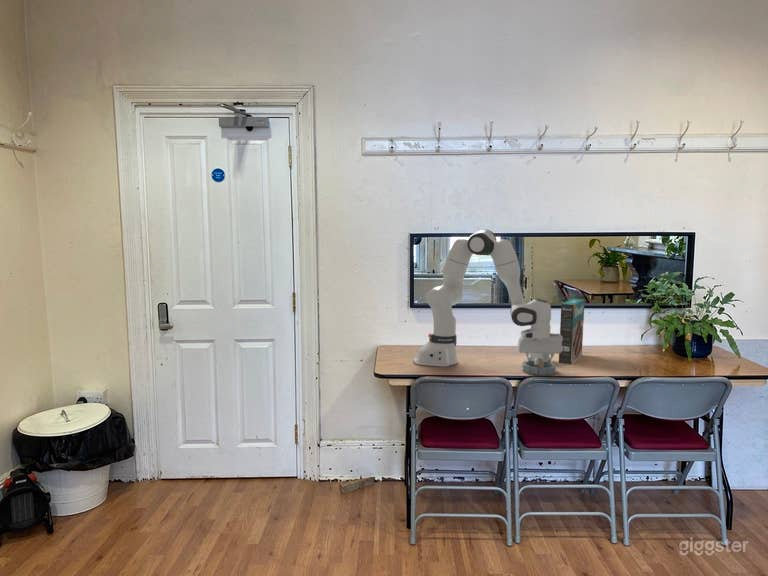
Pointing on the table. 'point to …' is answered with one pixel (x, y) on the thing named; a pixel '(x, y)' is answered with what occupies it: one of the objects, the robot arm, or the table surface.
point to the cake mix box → (571, 330)
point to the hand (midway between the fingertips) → (539, 361)
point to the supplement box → (539, 356)
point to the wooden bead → (539, 362)
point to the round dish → (545, 371)
